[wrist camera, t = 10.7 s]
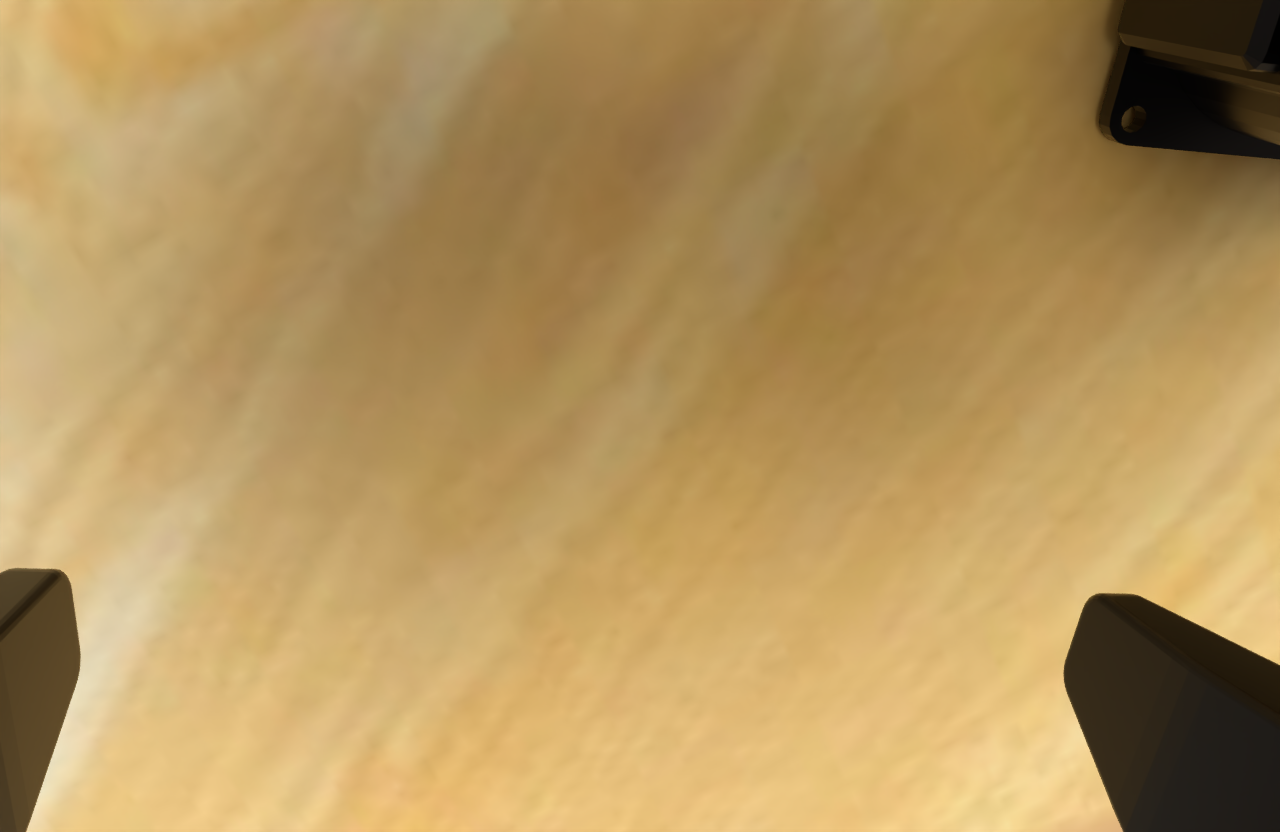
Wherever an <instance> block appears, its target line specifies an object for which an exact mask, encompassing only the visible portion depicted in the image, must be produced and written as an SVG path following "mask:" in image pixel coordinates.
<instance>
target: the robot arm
mask: <svg viewBox="0 0 1280 832" xmlns="http://www.w3.org/2000/svg"><path fill="white" fill-rule="evenodd" d="M1118 32H1119V35H1120V37H1121V40H1120V44H1119V48H1118V51H1117V55H1116V58H1115V62H1114V66H1113V69H1112V73H1111V76H1110V80H1109V83H1108V87H1107V91H1106V94H1105V98H1104V101H1103V105H1102V109H1101V112H1100V120H1099V125H1100V128H1101V131H1102V133H1103V134H1104V135H1105V136H1106V137H1107V138H1108V139H1110V140H1113V141H1116V142H1119V143H1122V144H1125V145H1131V146H1142V147H1152V148H1163V149H1174V150H1185V151H1196V152H1206V153H1217V154H1228V155H1239V156H1250V157H1260V158H1271V159H1280V0H1125V4H1124V8H1123V11H1122V15H1121V18H1120V22H1119V26H1118ZM1131 107H1134V109H1135V118H1134V120H1133V122H1132V124H1130V125H1129V126H1128V127H1126V128H1123V127H1122V125H1121V122H1122V117H1123V115H1124V113H1125V111H1127V110H1128V109H1129V108H1131ZM80 655H81V654H80V645H79V638H78V631H77V623H76V616H75V609H74V602H73V594H72V588H71V584H70V581H69V579H68V577H67V575H66V574H65V573H64V572H62V571H61V570H57V569H28V568H14V569H8V570H6V571H4V572H2V573H0V832H26V831H27V828H28V825H29V822H30V820H31V817H32V814H33V811H34V808H35V805H36V802H37V799H38V796H39V793H40V790H41V787H42V784H43V781H44V778H45V775H46V772H47V769H48V766H49V763H50V760H51V758H52V755H53V752H54V749H55V746H56V743H57V740H58V737H59V734H60V731H61V728H62V725H63V722H64V719H65V716H66V713H67V710H68V707H69V704H70V701H71V698H72V695H73V693H74V690H75V687H76V683H77V680H78V676H79V671H80ZM1064 683H1065V688H1066V691H1067V694H1068V697H1069V699H1070V702H1071V704H1072V707H1073V709H1074V712H1075V714H1076V717H1077V719H1078V722H1079V724H1080V727H1081V729H1082V732H1083V734H1084V737H1085V739H1086V742H1087V744H1088V747H1089V749H1090V752H1091V754H1092V757H1093V759H1094V762H1095V764H1096V767H1097V769H1098V772H1099V774H1100V777H1101V779H1102V782H1103V784H1104V787H1105V789H1106V792H1107V794H1108V797H1109V799H1110V802H1111V804H1112V807H1113V809H1114V812H1115V814H1116V816H1117V819H1118V821H1119V823H1120V825H1121V828H1122V830H1123V832H1280V665H1278V664H1276V663H1274V662H1272V661H1270V660H1268V659H1266V658H1264V657H1262V656H1260V655H1258V654H1256V653H1254V652H1252V651H1250V650H1248V649H1246V648H1244V647H1242V646H1240V645H1238V644H1236V643H1234V642H1232V641H1230V640H1228V639H1226V638H1224V637H1222V636H1220V635H1218V634H1216V633H1214V632H1212V631H1210V630H1208V629H1206V628H1204V627H1201V626H1199V625H1197V624H1195V623H1193V622H1191V621H1189V620H1187V619H1185V618H1183V617H1181V616H1179V615H1177V614H1175V613H1173V612H1171V611H1169V610H1167V609H1165V608H1163V607H1161V606H1159V605H1157V604H1155V603H1153V602H1151V601H1149V600H1147V599H1145V598H1143V597H1141V596H1138V595H1134V594H1112V593H1099V594H1095V595H1094V596H1092V597H1090V598H1089V599H1088V600H1087V602H1086V603H1085V605H1084V607H1083V610H1082V613H1081V616H1080V619H1079V622H1078V625H1077V628H1076V631H1075V634H1074V637H1073V639H1072V642H1071V645H1070V648H1069V651H1068V654H1067V657H1066V660H1065V665H1064Z"/></svg>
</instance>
